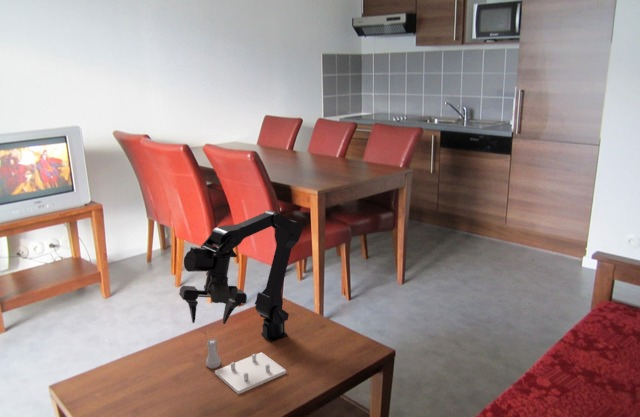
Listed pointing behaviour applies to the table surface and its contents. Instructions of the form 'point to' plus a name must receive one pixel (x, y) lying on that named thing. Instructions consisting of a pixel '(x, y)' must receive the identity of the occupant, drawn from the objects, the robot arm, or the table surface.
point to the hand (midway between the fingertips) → (208, 323)
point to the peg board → (249, 372)
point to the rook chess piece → (212, 355)
